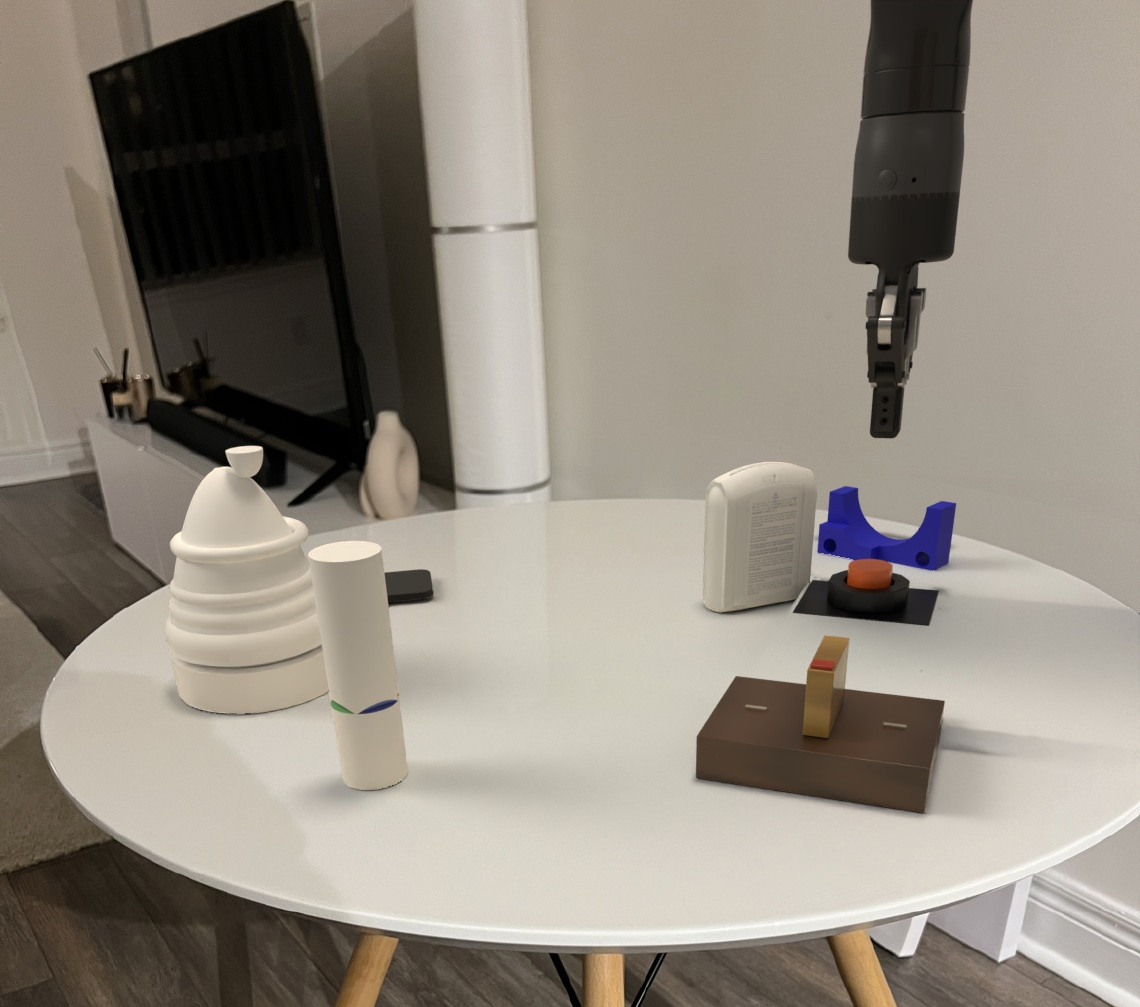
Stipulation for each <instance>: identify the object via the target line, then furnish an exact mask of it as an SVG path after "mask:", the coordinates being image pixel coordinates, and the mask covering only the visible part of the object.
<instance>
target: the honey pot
mask: <svg viewBox="0 0 1140 1007" xmlns="http://www.w3.org/2000/svg"><path fill="white" fill-rule="evenodd" d="M224 452H225V455H226V456H225V457H226V458H227V461H228V463H229V465H230V466H220V467H214V468H213V470H211V471H210V472H209V473H208V474H206V475H205V477H204V478H203V479H202V480H201V481H200V483H199V485H198V486H197V488H196V489H195V492H194V494H193V496H192V498H191V501H190V503H189V506H188V508H187V512H186V515H185V517H184V521H183V526H182V528H181V530H180V531H179V532H177V533H176V534H174V536H173V537H172V538H171V540H170V542H169V548H170V551H171V553H172V554H173V555H175V556H176V560H175V564H174V565H175V566H174V572H173V578H172V580H171V581H170V583H169V591H170V594H171V596H170V598H169V601H168V612H169V616H168V618H167V620H166V622H165V624H164V635H165V639H166V643H167V648H168V652H169V657H170V662H171V667H172V671H173V676H174V680H175V684H176V689H177V694H178V697H179V696H180V697H181V698H182V699H183V700H184V701H185V702H186V703H188V704H191V705H193V706H196V707H198V708H200V709H205V710H210V711H213V712H222V713H223V712H225V713H237V714H236V715H239V714H238V713H241V714H240V715H246V714H245V713H251V714H261V713H268V712H272V711H279V710H284V709H288V708H291V707H294V706H297V705H302V704H305V703H307V702H310V701H312V700H314V699H317V698H318V697H322V696H323V695H325V694H327V693H329V688H328V682H327V675H326V669H325V662H324V656H323V649H322V643H321V636H320V629H319V623H318V616H317V610H316V603H315V597H314V590H313V583H312V577H311V570H310V564H309V559H308V558H307V556H306V554H305V552H304V551H303V549H302V546H301V545H303V543H305V542H306V541H307V539H308V537H309V529H308V527H307V526H306V525H305V523H304V522H302V521H301V520H298V519H296V518H292V517H288V516H283V515H282V513H281V512H280V510H279V509H278V507H277V506H276V504H275V503H274V502H273V500H272V499H271V498H270V497H269V495H268V494H267V493H266V491H264V489H263V488H262V487H261V486H260V485H259V484H258V483H257V482H256V481H255V480H254V479H253V478H252V477H253V476H256V475H257V474H258V472H259V471H260V469H261V468H262V465H263V462H264V448H263V447H262V446H261V445H260V446H259V445H244V446H243V445H242V446H235V447H230V448H228V449H225V451H224Z"/></svg>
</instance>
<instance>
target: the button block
mask: <svg viewBox="0 0 1140 1007" xmlns="http://www.w3.org/2000/svg"><path fill="white" fill-rule="evenodd" d="M847 577H848V569H846V570H845V569H844V570H842V571H838V572H836V573H833V574H831V576H830V577H829V579H828V580H821V579H820V580H819V579H812V580H810V582H809V585H808V586H807V588H806V590H805V591H804V593H803V594H802V596H801V597H800V599H799V601H798V602H797V604H796V606H795V607H794V609H793V611H792V614H797V615H798V614H799V615H809V616H810V615H811V616H819V617H820V616H821V617H830V618H840V619H853V620H863V621H870V622H871V621H873V622H882V623H893V624H903V625H914V626H925V627H929V626H930V624H931V620H932V617H933V613H934V610H935V606H936V603H937V599H938V597H939V593H940V591H939V590H937V589H927V588H915V587H914V588H913V587H910V585H911V580H909V579H908V578H906V577H905V576H904V575H903V574H900V573H897V572H896V573H895V572H892V579H891V586H889V587H887V588H878V589H867V588H857V587H854V586H850V585H848V584H847Z"/></svg>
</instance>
